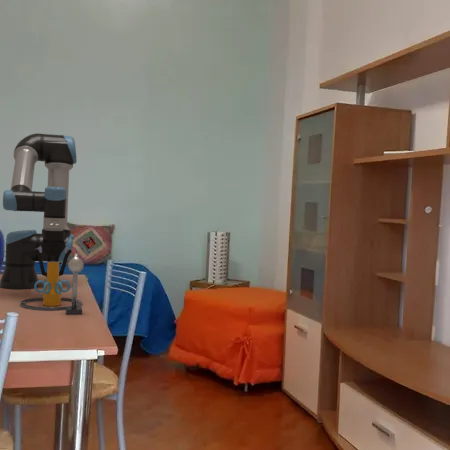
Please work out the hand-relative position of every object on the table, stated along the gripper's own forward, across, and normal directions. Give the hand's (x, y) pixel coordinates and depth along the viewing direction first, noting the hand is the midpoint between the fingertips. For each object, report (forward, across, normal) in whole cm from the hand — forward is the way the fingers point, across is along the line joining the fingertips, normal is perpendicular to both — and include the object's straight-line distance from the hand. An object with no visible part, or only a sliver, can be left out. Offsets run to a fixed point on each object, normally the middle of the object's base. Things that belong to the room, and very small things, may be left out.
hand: (51, 294), depth 205 cm
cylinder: (+3, 0, -7) cm, 7 cm away
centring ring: (+2, 0, -7) cm, 7 cm away
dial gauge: (+2, +7, -20) cm, 21 cm away
